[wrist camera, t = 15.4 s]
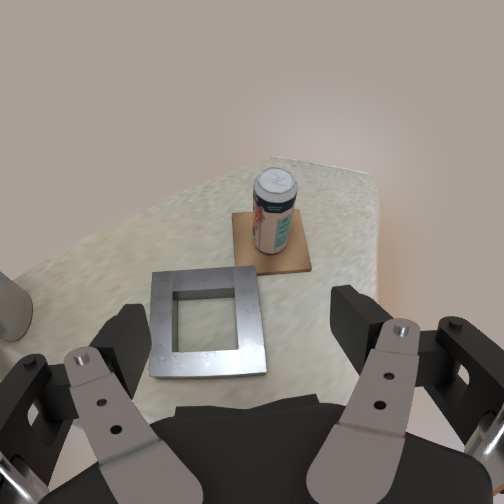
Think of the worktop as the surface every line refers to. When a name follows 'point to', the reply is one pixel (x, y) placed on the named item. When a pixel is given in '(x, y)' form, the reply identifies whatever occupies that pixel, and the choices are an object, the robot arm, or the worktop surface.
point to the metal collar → (204, 287)
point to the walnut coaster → (267, 264)
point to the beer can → (273, 208)
